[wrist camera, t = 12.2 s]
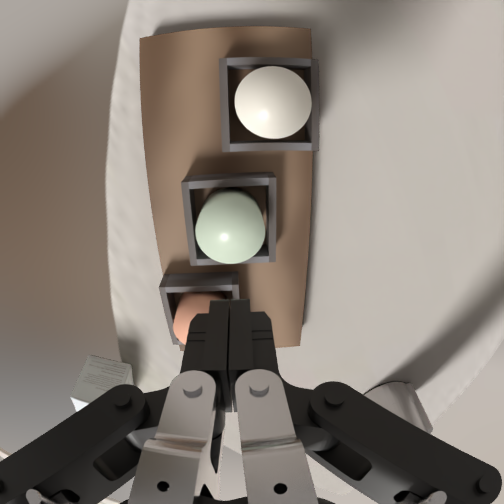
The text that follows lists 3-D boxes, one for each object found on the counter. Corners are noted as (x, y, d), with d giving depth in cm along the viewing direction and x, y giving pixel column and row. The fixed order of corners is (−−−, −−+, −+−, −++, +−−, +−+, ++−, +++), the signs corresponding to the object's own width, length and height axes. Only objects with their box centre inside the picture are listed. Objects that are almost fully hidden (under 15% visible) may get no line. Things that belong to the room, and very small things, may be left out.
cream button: (300, 74, 17) (311, 67, 14) (300, 135, 19) (311, 139, 16) (233, 73, 16) (233, 66, 14) (236, 136, 18) (235, 139, 16)
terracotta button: (227, 284, 24) (226, 307, 21) (231, 325, 26) (231, 349, 23) (174, 286, 24) (168, 308, 21) (183, 326, 26) (178, 349, 23)
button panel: (304, 35, 17) (317, 21, 14) (296, 332, 30) (303, 360, 26) (147, 43, 17) (130, 31, 13) (183, 337, 30) (177, 365, 26)
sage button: (260, 186, 20) (264, 198, 18) (261, 242, 22) (265, 262, 19) (198, 189, 20) (192, 201, 17) (203, 245, 22) (199, 265, 19)
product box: (136, 391, 34) (125, 435, 28) (96, 381, 33) (81, 422, 27) (132, 363, 31) (117, 411, 25) (88, 352, 31) (68, 397, 24)
